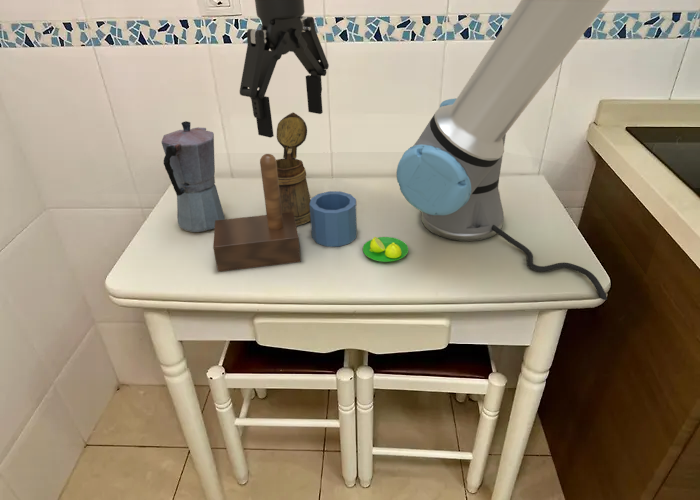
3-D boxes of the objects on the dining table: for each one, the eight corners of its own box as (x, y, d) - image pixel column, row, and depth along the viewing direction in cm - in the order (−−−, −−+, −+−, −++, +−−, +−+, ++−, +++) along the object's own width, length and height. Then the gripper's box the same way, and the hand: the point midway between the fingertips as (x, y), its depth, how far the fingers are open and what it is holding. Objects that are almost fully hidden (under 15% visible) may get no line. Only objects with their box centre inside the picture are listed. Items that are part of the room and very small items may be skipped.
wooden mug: (321, 195, 110) (316, 112, 100) (310, 227, 99) (303, 137, 89) (280, 194, 111) (271, 111, 101) (265, 226, 100) (253, 136, 90)
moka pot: (238, 205, 107) (222, 110, 96) (212, 245, 94) (191, 141, 83) (193, 203, 108) (173, 109, 97) (162, 243, 96) (135, 140, 85)
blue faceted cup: (364, 231, 97) (364, 197, 94) (340, 251, 92) (338, 217, 88) (329, 219, 101) (327, 187, 98) (303, 238, 96) (300, 205, 92)
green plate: (363, 265, 88) (363, 251, 86) (361, 240, 95) (361, 227, 93) (410, 264, 88) (411, 250, 87) (405, 239, 95) (406, 225, 93)
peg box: (295, 235, 97) (286, 142, 87) (300, 261, 89) (291, 163, 79) (219, 243, 95) (201, 149, 85) (218, 271, 87) (198, 172, 77)
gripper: (308, -21, 90) (317, 101, 101) (199, -2, 73) (225, 142, 84) (344, -20, 86) (349, 106, 98) (238, 1, 69) (259, 151, 81)
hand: (292, 123), depth 91 cm, fingers open, 13 cm apart
